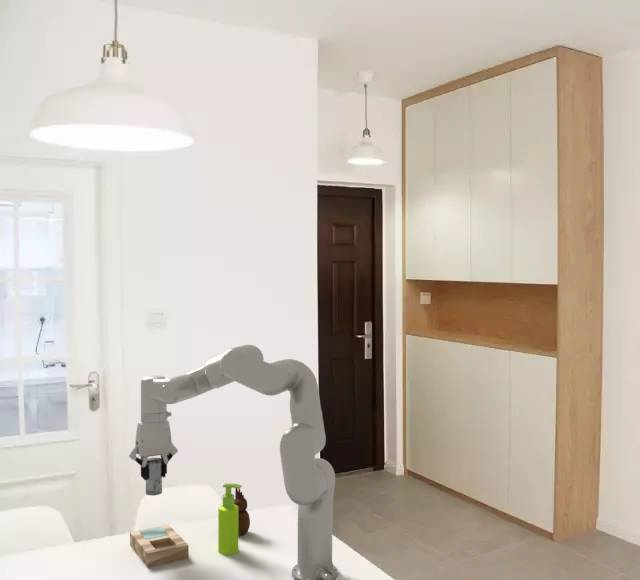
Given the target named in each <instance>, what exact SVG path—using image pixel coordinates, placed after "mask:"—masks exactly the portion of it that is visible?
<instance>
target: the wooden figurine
mask: <svg viewBox="0 0 640 580" xmlns="http://www.w3.org/2000/svg"><path fill="white" fill-rule="evenodd" d="M234 505H237V506H238V537H240V536H245V535H246V534H247V533H248V532H249V529H250V525H251V518H250V515H249V512H248V511H247V509H248V501H247V499H246V498H245V495H244V494H243V492H242V491H241V488H240V489H237V488H235V494H234Z"/></svg>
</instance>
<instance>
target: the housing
mask: <svg viewBox="0 0 640 580" xmlns="http://www.w3.org/2000/svg"><path fill="white" fill-rule="evenodd" d="M129 545H130V547H131V548H132V550H133V551H134V552H135V554H136V555H137V556H138V558H139V559H140V560H141V561H142V563H143V565H145V566H146V568H151V567H156V566H160V565H165V564H168V563H170V564H171V563H174V562H180V561H182V560H183V561H184V560H188V559H189V544H188V543H187V542H186V541H185V540H184V539H183V538H182V537H181V536H180V535H179V533H178V532H176V530H174V529H173V528H172V527H171V526H170V524H165V525H161V526H156V527H150V528H145V529H139V530H134V531H130V532H129Z"/></svg>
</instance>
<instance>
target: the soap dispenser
mask: <svg viewBox="0 0 640 580" xmlns="http://www.w3.org/2000/svg"><path fill="white" fill-rule="evenodd" d="M242 487H243V485H241V484H239V483H224V484H223V485H222V488H225V493H224V494H223V495H222V505H219V506H218V509H217V510H218V517H217V518H218V525H217V526H218V527H217V528H218V529H217V530H218V533H217V534H218V537H217V539H218V549H217V550H218V551H217V552H218V554H220V555H224V556H230V555H236V554H237V553H238V552H239V536H238V506H237V505H234V499H235V494H234V493H232V488H233V489H236V488H237V489H238V490H239V489H240V490H241V488H242Z"/></svg>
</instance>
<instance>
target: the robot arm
mask: <svg viewBox="0 0 640 580" xmlns="http://www.w3.org/2000/svg"><path fill="white" fill-rule="evenodd" d="M264 360H265V359H264V354H263V352H262V350H261V349H260V348H259V347H257V346H256V345H252V344H244V345H243V344H242V345H239V346H235V347H230V348H229V349H227V350H226V351H225V352H224V353H223V354H220V355H217V356H215V357H213V358H210V359H208V360H207V361H206V362H205V365H204V366H201V367H200V368H197V369H195V370H193V371H190V372H186V373H184V374H182V375H181V374H179V375H176V376H174V377H169V378H166V377H165V376H163V375H157V374H156V375H147V376H144V377H142V378H141V380H140V421H138V423H137V426H136V432H135V444H134V445H135V447H134V448H133V449H132V451H131V452H130V454H129V459H131V460H133V461H134V462H136V463H137V464H138V465H140V477H141V478H142V479H143V480H144V481H146V480H148V467H147V466H146V463H147V459H148V458H151V457H157V456H160V458H162V479H163V478H166V474H168V464H169V462H170V460H171V459H173V457H174V456H175V455H176V454H177V453H178V451H179V449H178V448H177V447H176V446H175V445H174V443H172V432H171V425H170V421H169V420H168V418H169V417H172V412H171V411H168V410H167V407H168V405H174V404H177V403H181V402H183V401H186V400H190V399H193V398H196V397H198V396H201V395H203V394H205V393H208V392H211V391H212V390H214V389H220V388H222V387H225V386H226V385H227V386H228V385H229V384H232V383H233V382H236V383H238V384H240V385H242V386H245V387H247V388H249V389H251V390H253V391H255V392H258V393H260V394H262V395H265V396H276V395H280V394H282V393H284V392H287V391H288V392H289V395H290V396H289V397H290V398H289V411H290V413H289V414H290V419H291V427H290V428H288V429H287V430H286V431H285V432H284V433H283V435H282V437H281V440H280V442H279V456H280V462H281V468H282V469H281V470H282V476H283V482H284V487H285V491H286V494H287V496H288V498H289V499H290V500H291V501H292V502H293V503H295V504H296V505H298V506H297V564H295V565H294V566H293V567H292V569H291V576H292V577H293V579H294V580H335V579H336V578H337V577H338V574H339V569H338V567H336V566H335V564H334V563H333V518H334V515H333V511H334V509H333V506H334V494H335V487H336V473H335V470H334V467H333V466H332V464H331V463H330V462H329V461H327V460H326V459H324V458H321V457H316V455H317V454H319V453H320V452H321V451H322V450H323V449H324V448H325V446H326V441H327V438H326V431H325V425H324V419H323V418H324V417H323V411H322V407H321V406H322V405H321V399H320V393H319V385H318V381H317V379H316V376H315V374H314V372H313V371H312V369H311V368H310V367H309V366H308V365H307V364H305V363H304V362H302V361H299V360H296V359H292V358H288V359H287V358H286V359H280V360H277V361H274V362H271V363H270V362H268V361H264ZM137 455H138V456H137Z"/></svg>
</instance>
